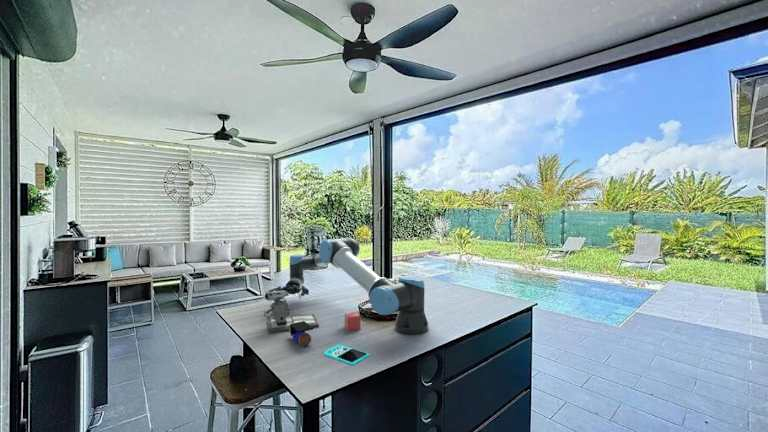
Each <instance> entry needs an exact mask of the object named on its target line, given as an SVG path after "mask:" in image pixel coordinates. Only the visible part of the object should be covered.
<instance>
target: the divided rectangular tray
mask: <svg viewBox="0 0 768 432" xmlns="http://www.w3.org/2000/svg"><path fill="white" fill-rule="evenodd" d="M277 321H278V320H274V319H273V317H271V318H270V319H267V322H268V323H267V324H268V325H267V326H268V329H267V330H268V334H275V333H283V332H289V329H288V326H289V325H290V324H293V323H297V322H302V321H305V322H306V323H307V324H309V325H310V326H311V327H313V329H314V328H319V327H320V324H319V321H318V319H317V317H316V316H315V313H308V314H299V315H292V316H290V315H289V316H287V317H286V322H287V324H286V325H281V326H280V325H279V326H278V325H277Z"/></svg>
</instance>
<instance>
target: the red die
mask: <svg viewBox="0 0 768 432" xmlns="http://www.w3.org/2000/svg"><path fill="white" fill-rule="evenodd" d="M361 323H362V321H361V315H360V313H359V312H358V311H354V312H353V311H352V312H345V313H344V327H345V330H347V331H355V330H361V328H362V327H361V326H362V325H361Z"/></svg>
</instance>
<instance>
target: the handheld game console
mask: <svg viewBox="0 0 768 432" xmlns="http://www.w3.org/2000/svg"><path fill="white" fill-rule="evenodd" d="M323 354H324V356H326V357H328V358H331V359H334V360H336V361H339V362H342V363H345V364H348V365H351V366H355V365H356V364H359V363H360V362H361V361H363V360H365V359H367V358H369V357H370V356H371V355H370V353H368V352H364V351H361V350H359V349H356V348H352V347H349V346H346V345H343V344H340V343H338V344H335V345H334V346H333V347H330V348H328V349H326V350H325V351H324V352H323Z"/></svg>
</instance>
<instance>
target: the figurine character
mask: <svg viewBox="0 0 768 432" xmlns="http://www.w3.org/2000/svg"><path fill="white" fill-rule="evenodd" d="M288 329H289V331H288V332H289V334H290V337H292V339H293V340H295V341H298V344H300V345H301V346H302V347H305V346H308V345H310V344H311V342H312V336H311V334H310V333H308V332H309V331H312V330H314V328H313V327H311V326H310V325H309V324H307V323H306V322H305V321H302V322H297V323H293V324H290V325H289V326H288ZM307 331H308V332H307Z"/></svg>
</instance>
